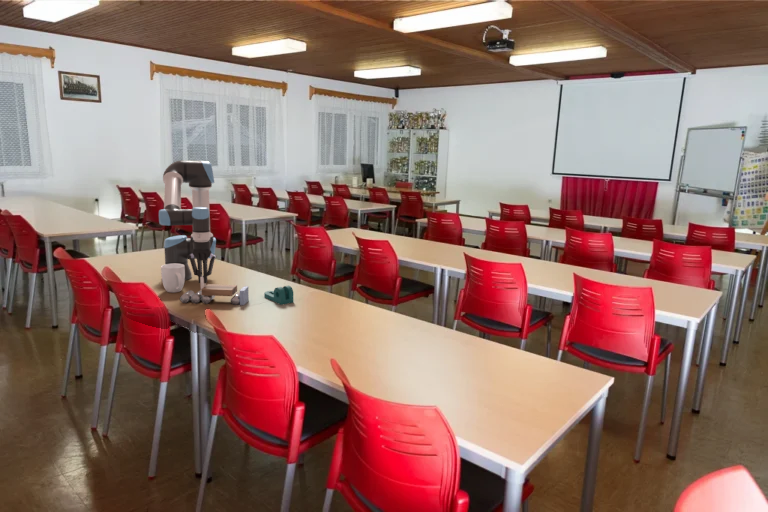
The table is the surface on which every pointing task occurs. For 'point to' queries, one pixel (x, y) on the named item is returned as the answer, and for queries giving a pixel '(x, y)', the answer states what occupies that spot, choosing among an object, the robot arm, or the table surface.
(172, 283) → the mug
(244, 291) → the stop block
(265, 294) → the bracket
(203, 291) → the slab
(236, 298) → the roller
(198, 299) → the grey ball cluster
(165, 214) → the robot arm
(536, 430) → the table surface
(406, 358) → the table surface
